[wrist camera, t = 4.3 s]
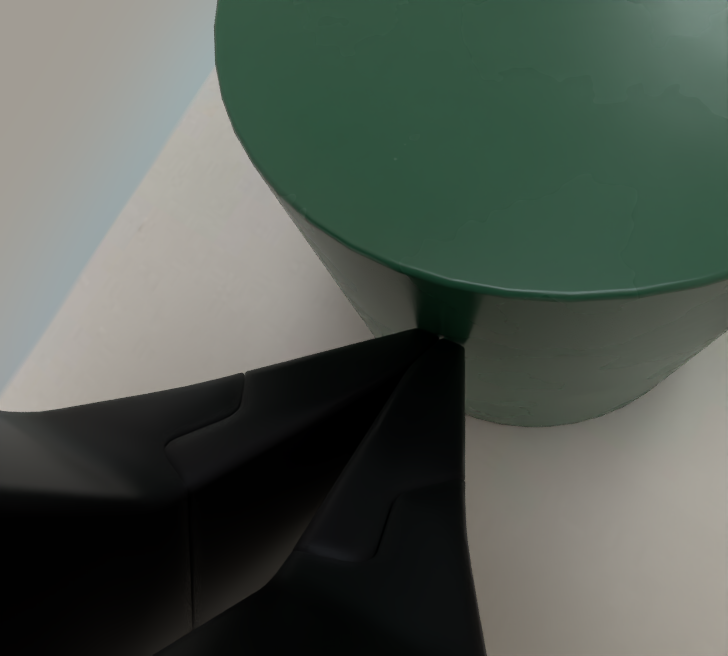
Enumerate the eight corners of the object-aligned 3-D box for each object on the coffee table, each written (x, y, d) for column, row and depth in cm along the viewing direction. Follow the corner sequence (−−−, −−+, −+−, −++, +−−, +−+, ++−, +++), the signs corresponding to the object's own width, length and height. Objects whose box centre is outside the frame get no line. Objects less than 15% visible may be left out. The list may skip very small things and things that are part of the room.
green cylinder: (636, 494, 14) (905, 465, 5) (306, 341, 17) (90, 150, 8) (763, 167, 16) (1139, -312, 7) (442, 84, 19) (392, -313, 10)
